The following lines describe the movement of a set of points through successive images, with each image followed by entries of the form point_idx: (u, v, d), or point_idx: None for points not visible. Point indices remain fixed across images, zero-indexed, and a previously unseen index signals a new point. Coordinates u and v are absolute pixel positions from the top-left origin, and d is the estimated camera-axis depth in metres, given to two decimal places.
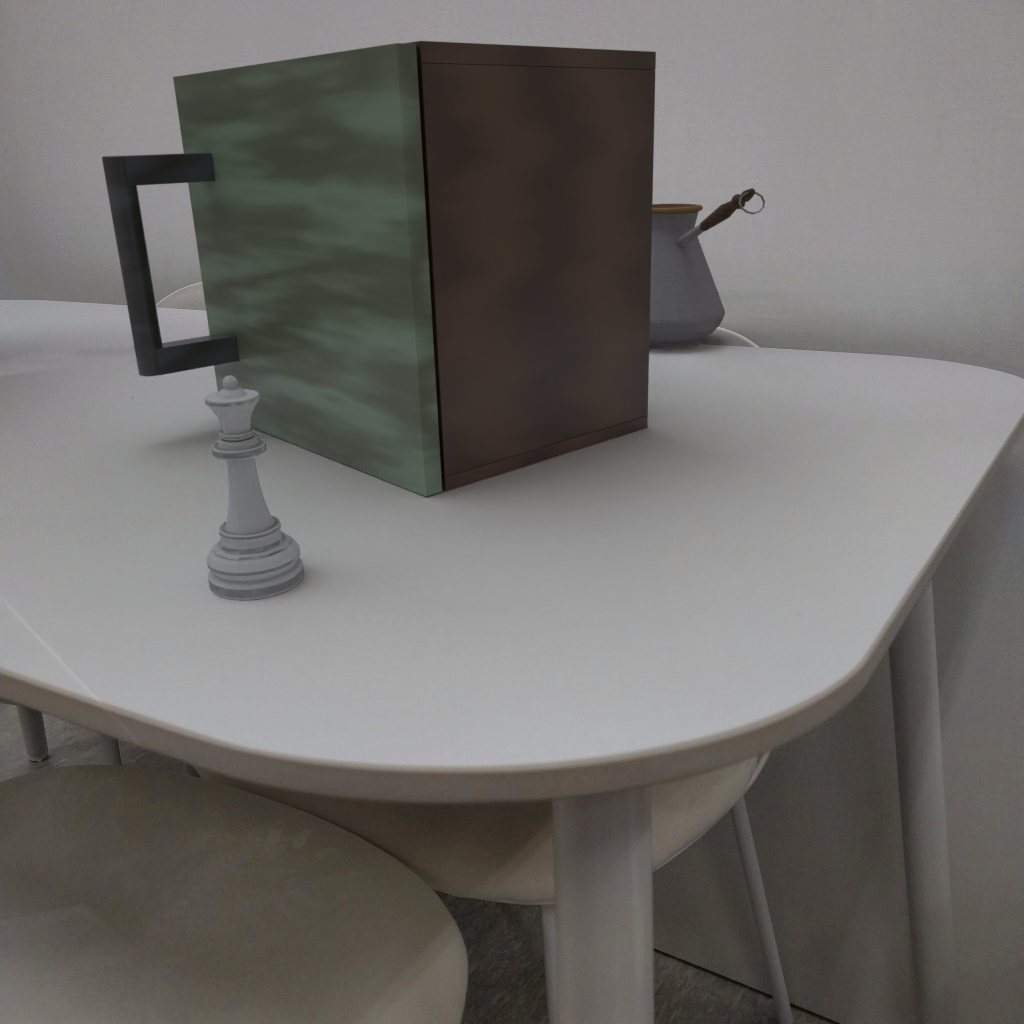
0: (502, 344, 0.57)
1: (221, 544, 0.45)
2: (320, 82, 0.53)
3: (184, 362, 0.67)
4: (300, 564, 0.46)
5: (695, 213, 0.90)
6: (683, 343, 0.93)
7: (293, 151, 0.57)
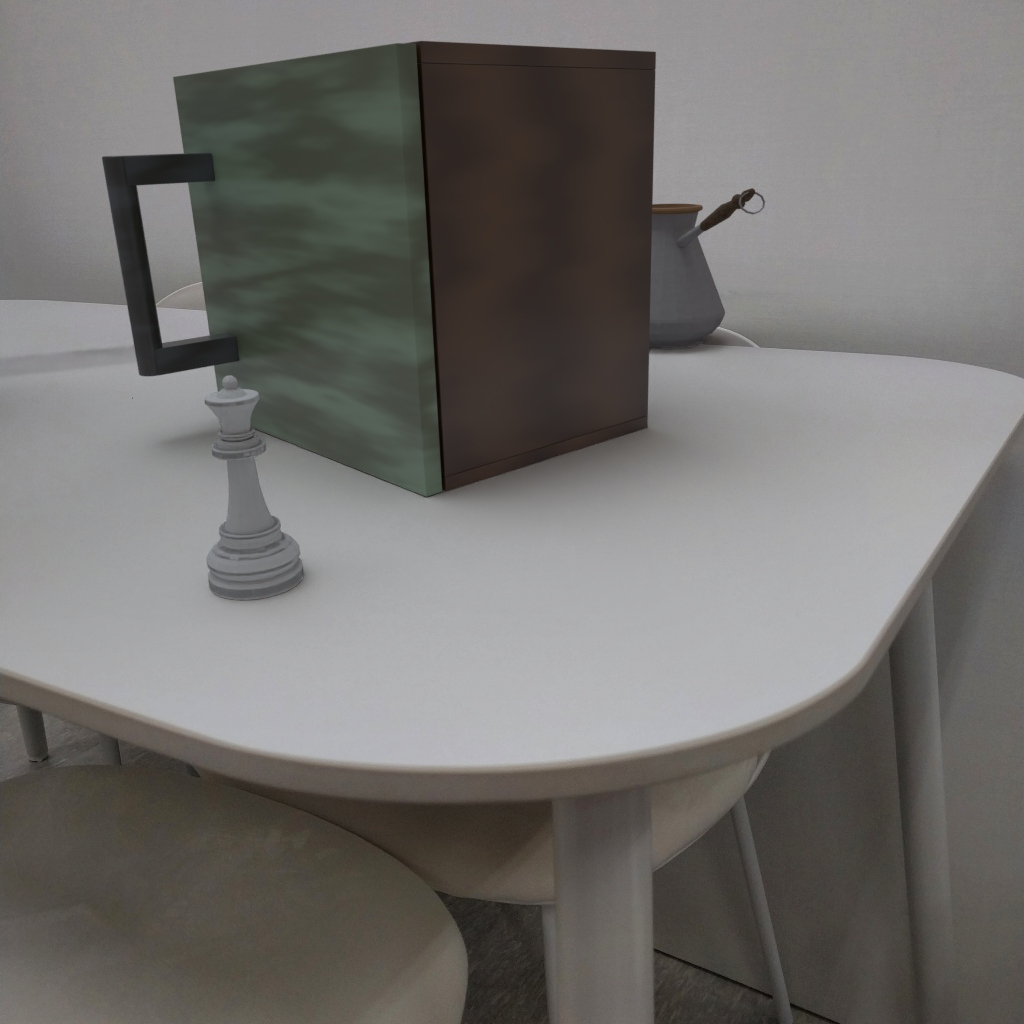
0: (502, 344, 0.57)
1: (221, 544, 0.45)
2: (320, 82, 0.53)
3: (184, 362, 0.67)
4: (300, 564, 0.46)
5: (695, 213, 0.90)
6: (683, 343, 0.93)
7: (293, 151, 0.57)
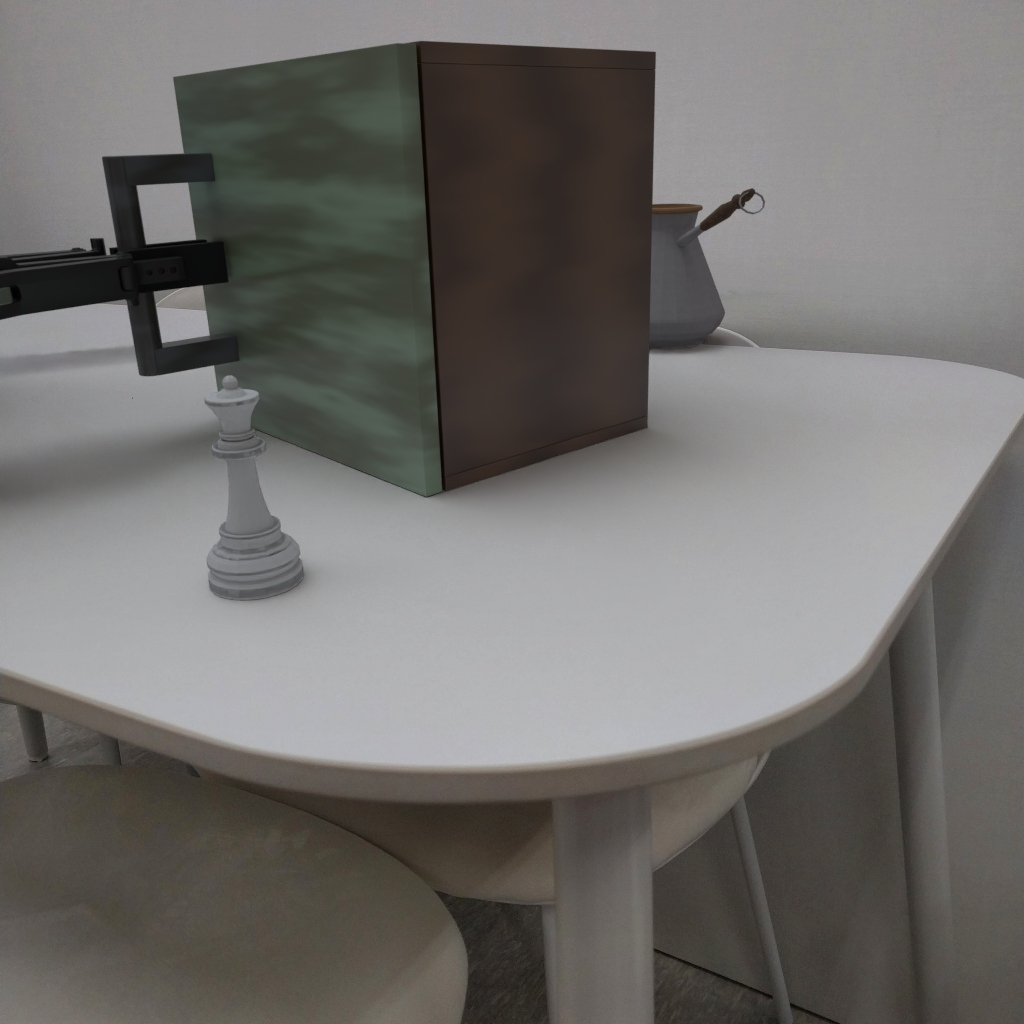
0: (502, 344, 0.57)
1: (221, 544, 0.45)
2: (320, 82, 0.53)
3: (184, 362, 0.67)
4: (300, 564, 0.46)
5: (695, 213, 0.90)
6: (683, 343, 0.93)
7: (293, 151, 0.57)
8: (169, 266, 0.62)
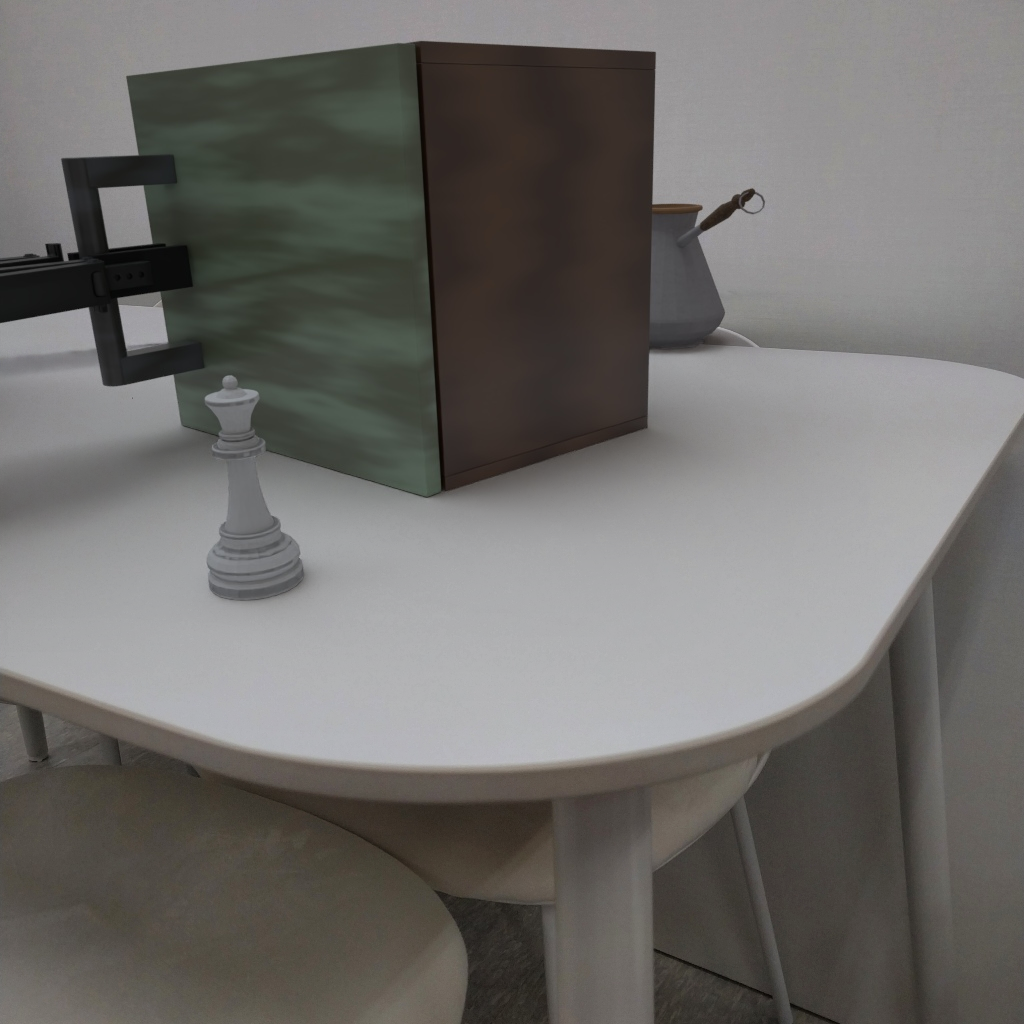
0: (502, 344, 0.57)
1: (221, 544, 0.45)
2: (307, 82, 0.52)
3: (150, 371, 0.64)
4: (300, 564, 0.46)
5: (695, 213, 0.90)
6: (683, 343, 0.93)
7: (273, 152, 0.56)
8: (137, 271, 0.60)
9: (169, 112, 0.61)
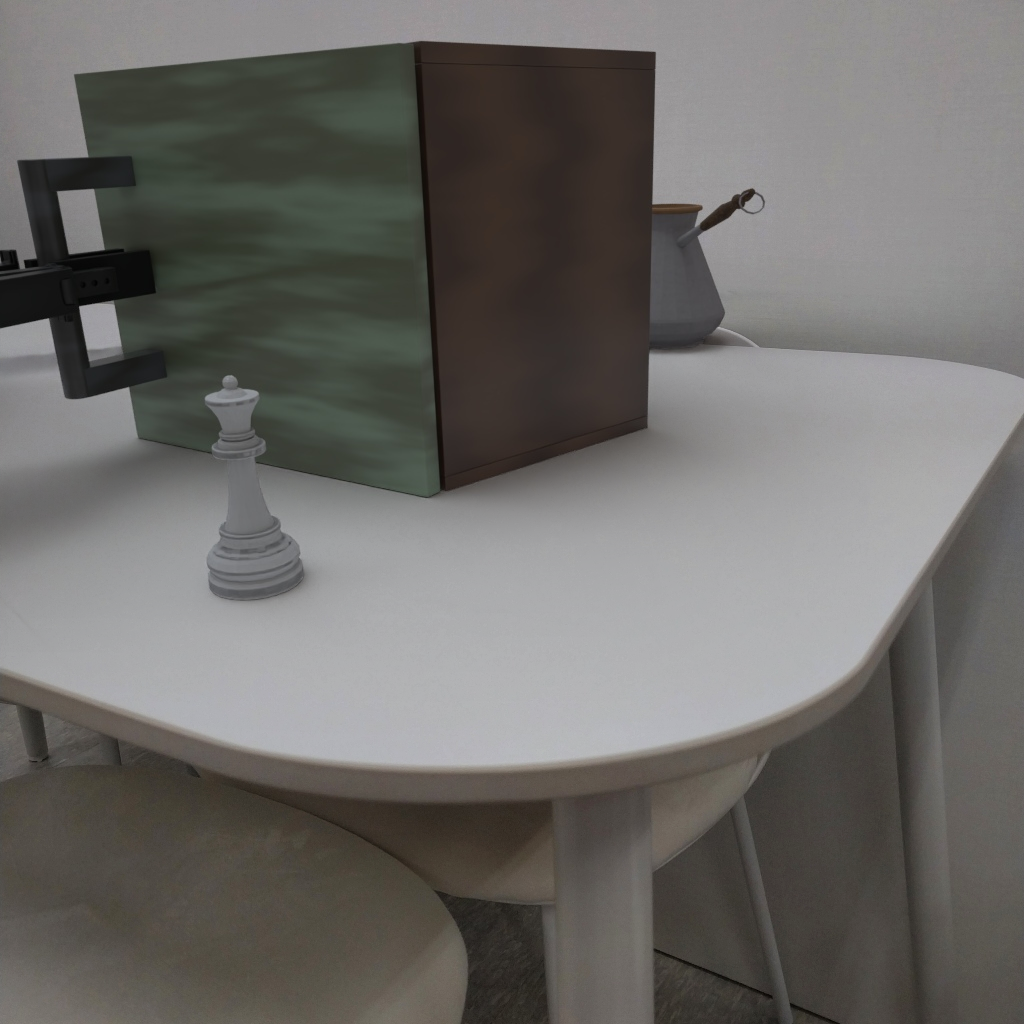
0: (502, 344, 0.57)
1: (221, 544, 0.45)
2: (293, 81, 0.51)
3: (114, 382, 0.62)
4: (300, 564, 0.46)
5: (695, 213, 0.90)
6: (683, 343, 0.93)
7: (252, 153, 0.55)
8: (102, 277, 0.58)
9: (127, 112, 0.59)
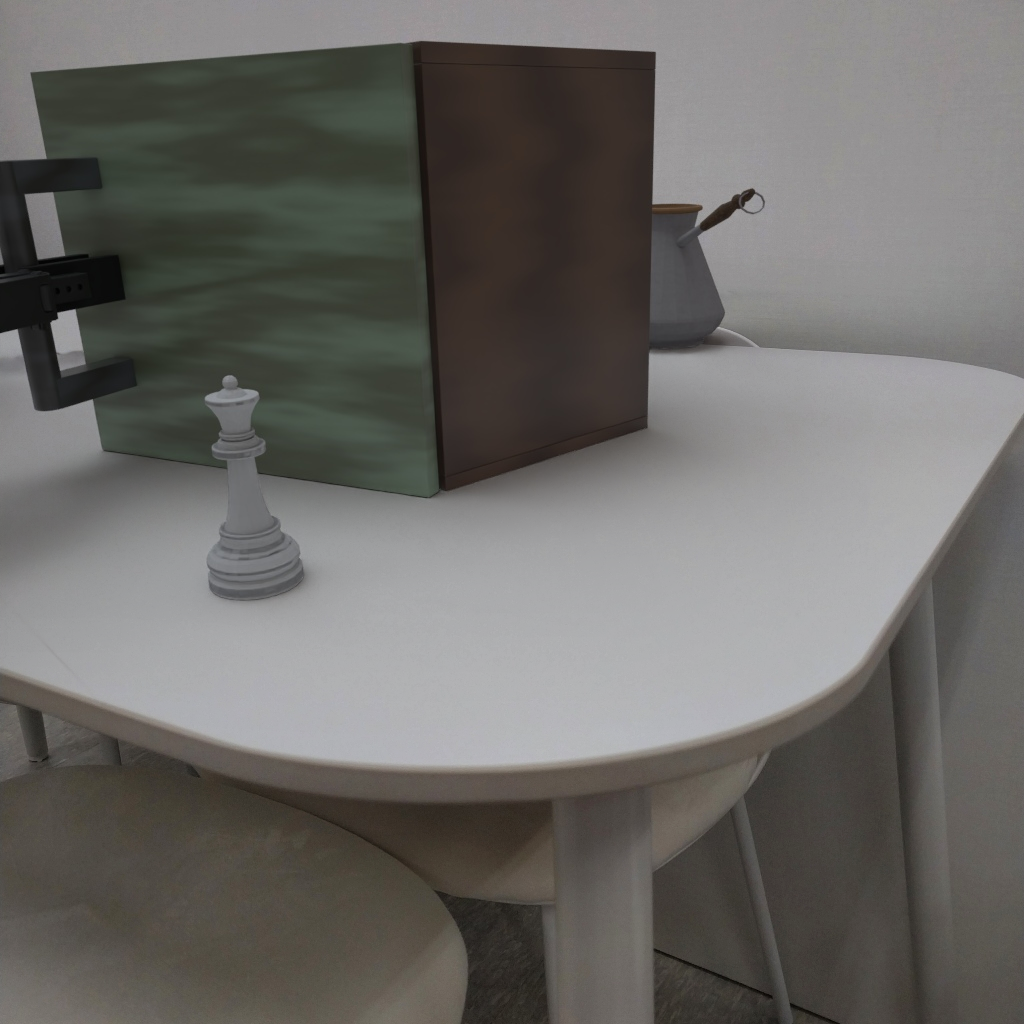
0: (502, 344, 0.57)
1: (221, 544, 0.45)
2: (283, 80, 0.51)
3: (86, 392, 0.59)
4: (300, 564, 0.46)
5: (695, 213, 0.90)
6: (683, 343, 0.93)
7: (236, 153, 0.53)
8: (75, 283, 0.55)
9: (92, 112, 0.57)
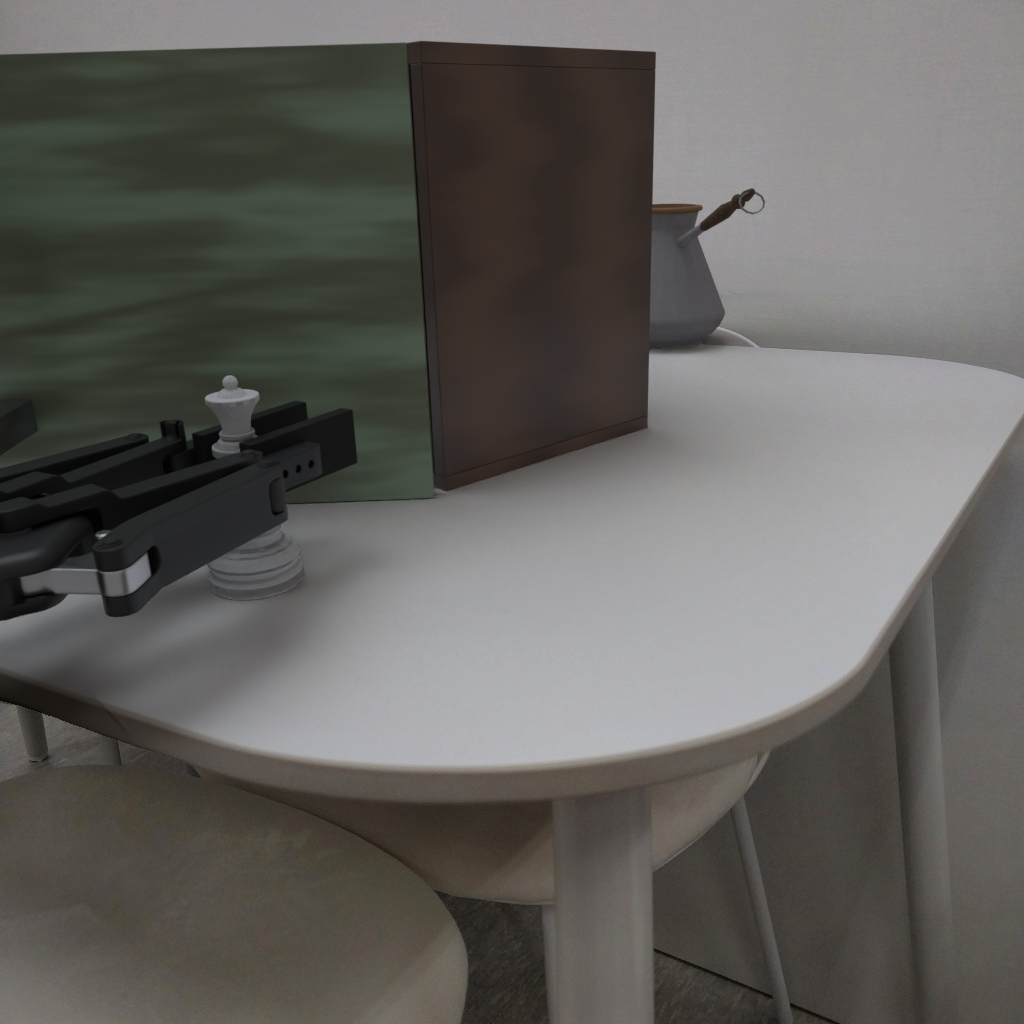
0: (502, 344, 0.57)
1: None
2: (259, 77, 0.47)
3: (2, 442, 0.50)
4: (300, 564, 0.46)
5: (695, 213, 0.90)
6: (683, 343, 0.93)
7: (193, 155, 0.49)
8: (306, 460, 0.43)
9: None
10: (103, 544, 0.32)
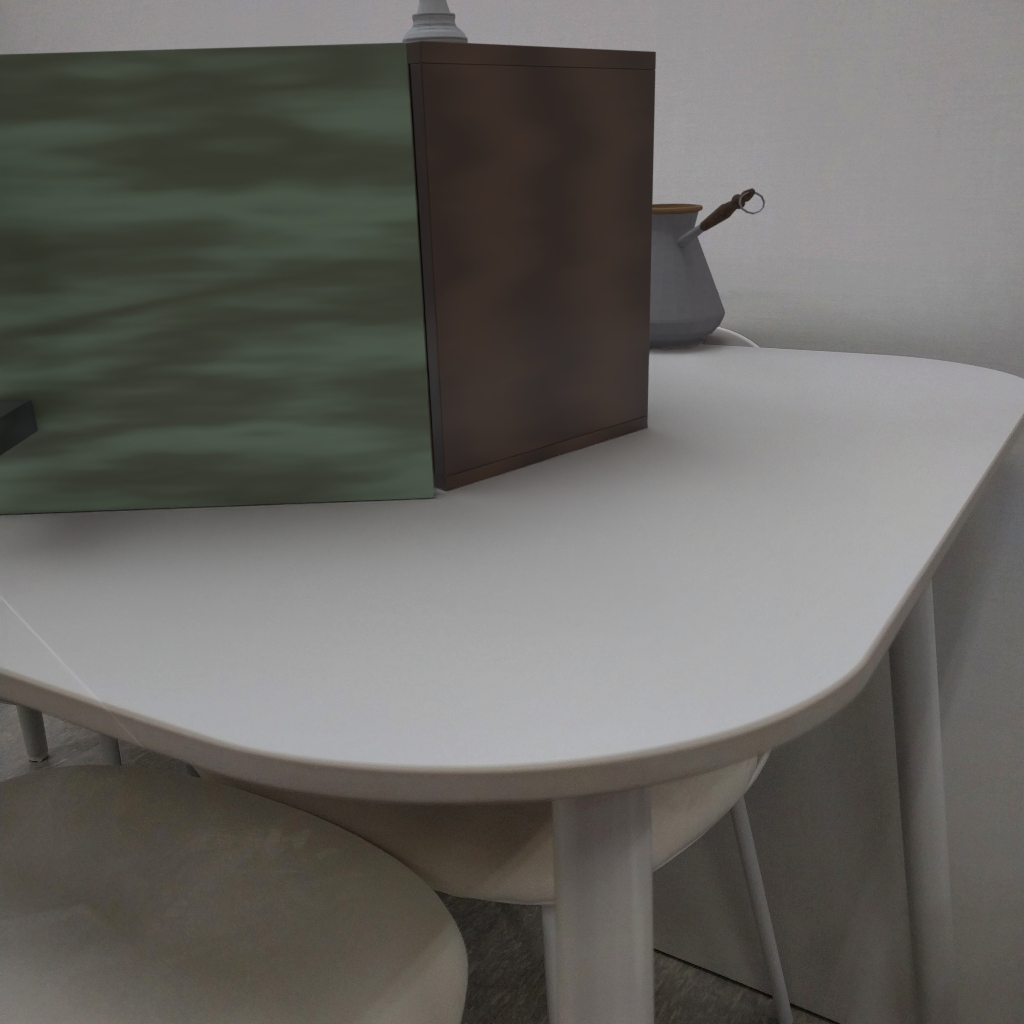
0: (502, 344, 0.57)
1: (421, 24, 0.62)
2: (259, 77, 0.47)
3: (2, 442, 0.50)
4: None
5: (695, 213, 0.90)
6: (683, 343, 0.93)
7: (193, 155, 0.49)
8: None
9: None
10: None
